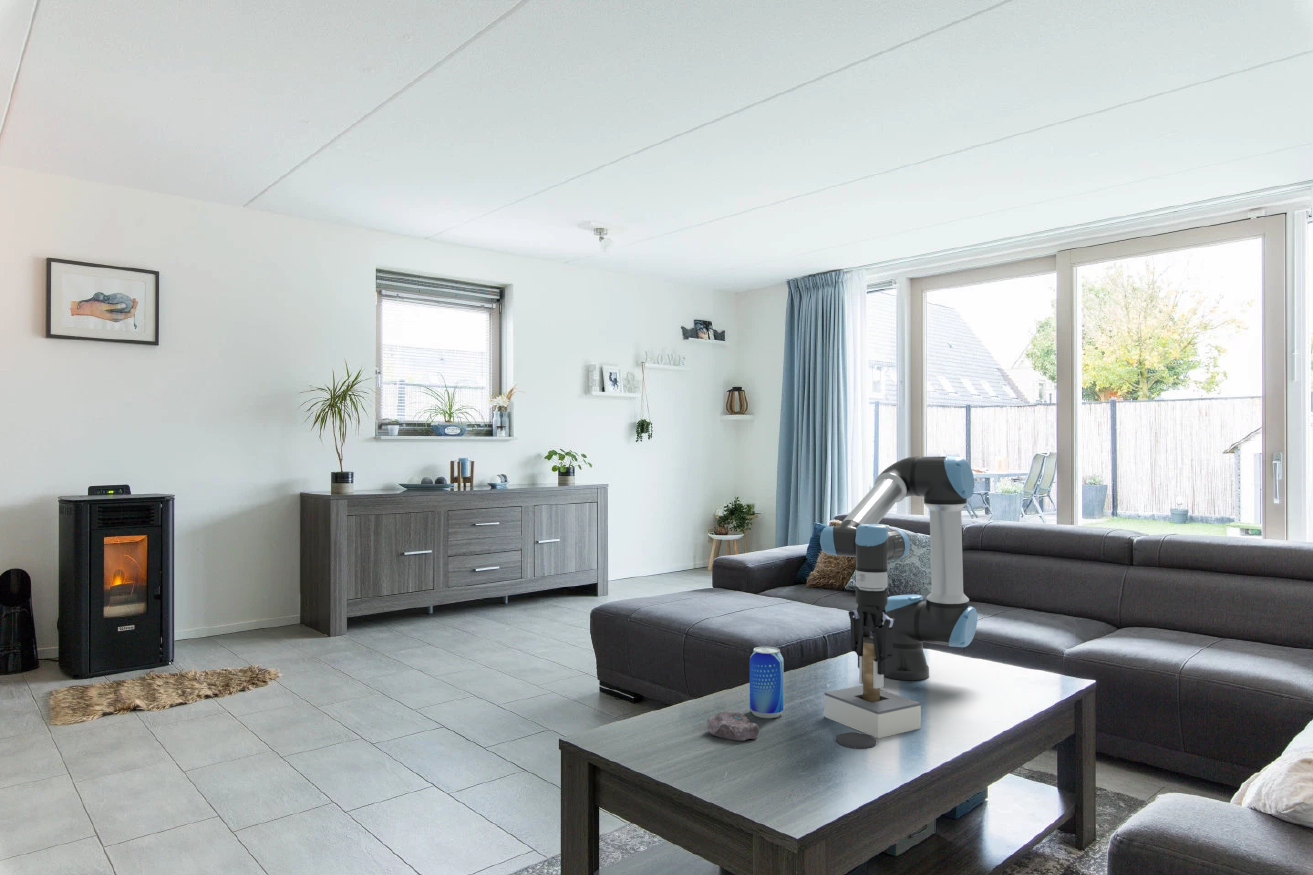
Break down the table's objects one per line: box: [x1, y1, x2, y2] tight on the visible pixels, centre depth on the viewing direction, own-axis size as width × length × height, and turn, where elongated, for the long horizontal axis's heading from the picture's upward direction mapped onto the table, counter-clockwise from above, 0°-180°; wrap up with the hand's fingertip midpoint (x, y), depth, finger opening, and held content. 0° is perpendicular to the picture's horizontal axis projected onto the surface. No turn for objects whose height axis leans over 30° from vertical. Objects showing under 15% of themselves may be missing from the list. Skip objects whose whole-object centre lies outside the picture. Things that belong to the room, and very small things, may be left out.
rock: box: [706, 711, 760, 742], centre depth 190 cm, size 8×11×5 cm
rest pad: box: [835, 731, 877, 750], centre depth 186 cm, size 9×9×1 cm
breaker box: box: [823, 684, 922, 739], centre depth 199 cm, size 18×14×6 cm
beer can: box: [749, 646, 785, 719], centre depth 206 cm, size 8×8×16 cm
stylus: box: [862, 635, 881, 702], centre depth 200 cm, size 4×4×16 cm
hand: (871, 684), depth 200 cm, fingers closed on stylus, 4 cm apart
